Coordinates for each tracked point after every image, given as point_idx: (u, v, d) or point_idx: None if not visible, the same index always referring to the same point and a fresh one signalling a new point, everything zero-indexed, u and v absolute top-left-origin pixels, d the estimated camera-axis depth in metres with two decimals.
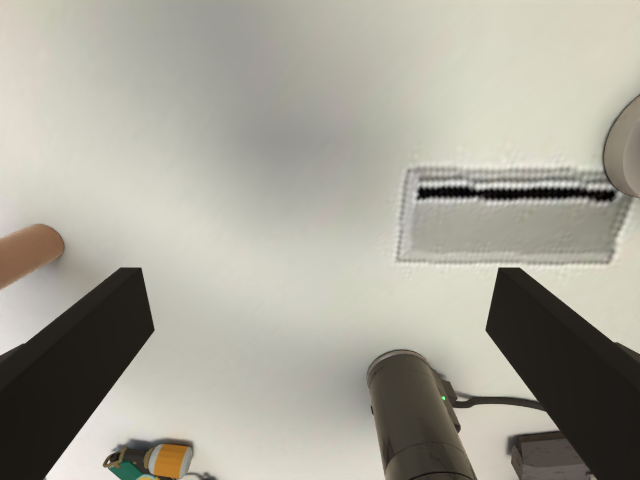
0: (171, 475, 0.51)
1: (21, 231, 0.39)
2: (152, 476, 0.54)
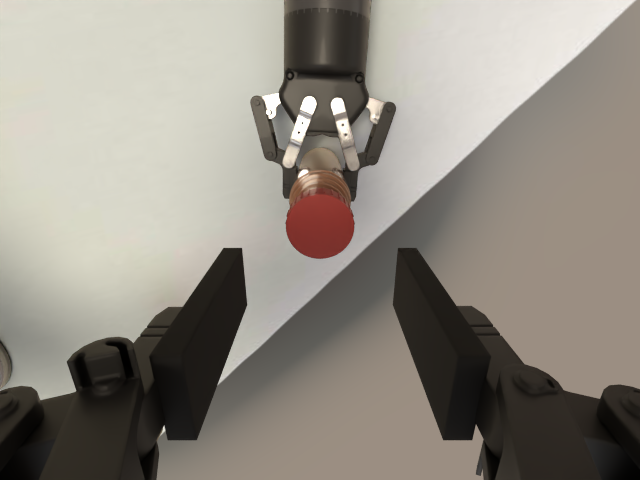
0: None
1: None
2: None
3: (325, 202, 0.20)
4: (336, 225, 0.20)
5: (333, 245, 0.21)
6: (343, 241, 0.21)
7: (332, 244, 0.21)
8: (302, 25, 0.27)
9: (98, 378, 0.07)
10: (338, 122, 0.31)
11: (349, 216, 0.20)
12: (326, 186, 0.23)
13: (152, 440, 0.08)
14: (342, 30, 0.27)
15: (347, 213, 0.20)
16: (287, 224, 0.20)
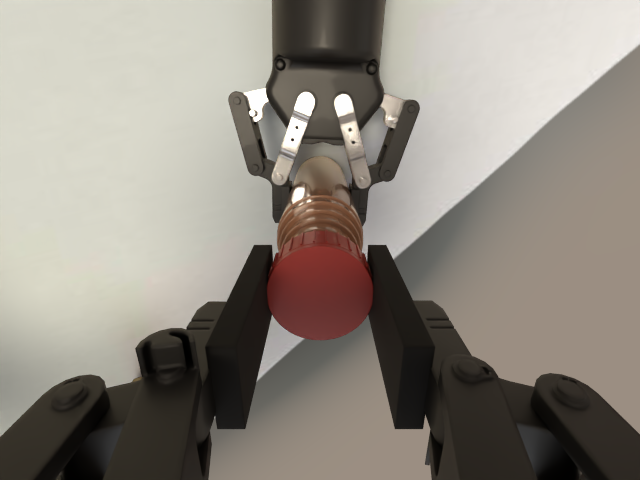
0: None
1: None
2: None
3: (328, 258, 0.12)
4: (346, 292, 0.13)
5: (340, 321, 0.13)
6: (356, 316, 0.13)
7: (339, 320, 0.13)
8: None
9: (162, 366, 0.07)
10: (344, 126, 0.24)
11: (366, 279, 0.13)
12: (329, 223, 0.16)
13: (208, 427, 0.08)
14: (351, 0, 0.20)
15: (363, 275, 0.13)
16: (268, 291, 0.13)
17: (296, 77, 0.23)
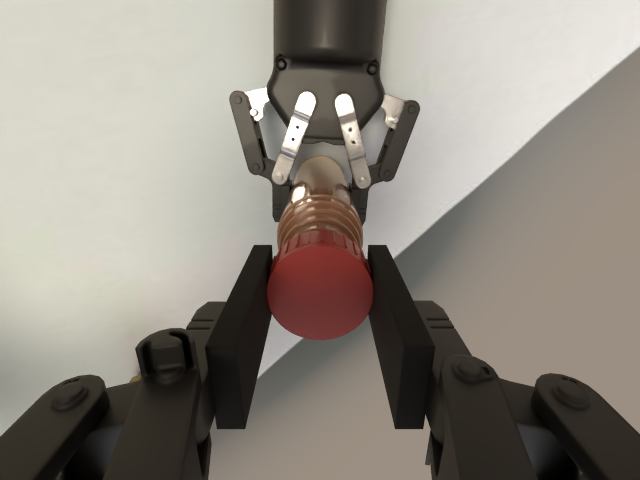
0: None
1: None
2: None
3: (279, 285, 0.13)
4: (318, 272, 0.13)
5: (352, 278, 0.13)
6: (347, 263, 0.12)
7: (350, 280, 0.13)
8: None
9: (162, 366, 0.07)
10: (344, 126, 0.24)
11: (304, 252, 0.12)
12: (329, 222, 0.16)
13: (207, 428, 0.08)
14: (352, 0, 0.20)
15: (299, 255, 0.12)
16: (310, 337, 0.14)
17: (297, 77, 0.23)
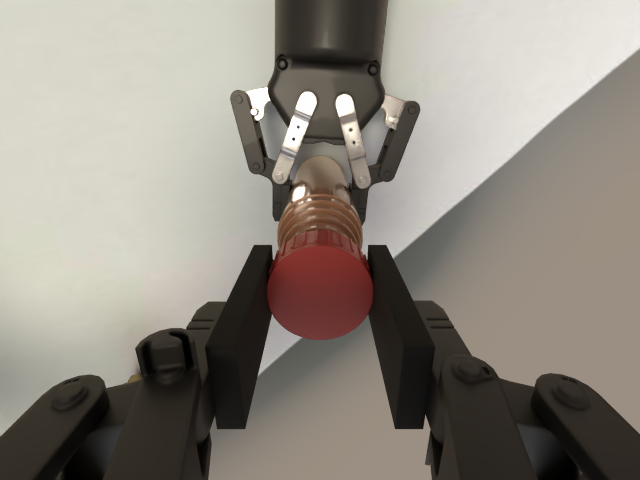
0: None
1: None
2: None
3: (305, 328, 0.13)
4: (294, 294, 0.13)
5: (303, 265, 0.12)
6: (285, 269, 0.13)
7: (304, 267, 0.12)
8: None
9: (162, 366, 0.07)
10: (345, 126, 0.24)
11: (272, 305, 0.13)
12: (329, 221, 0.16)
13: (207, 428, 0.08)
14: (353, 1, 0.20)
15: (275, 309, 0.13)
16: (369, 307, 0.13)
17: (298, 77, 0.23)
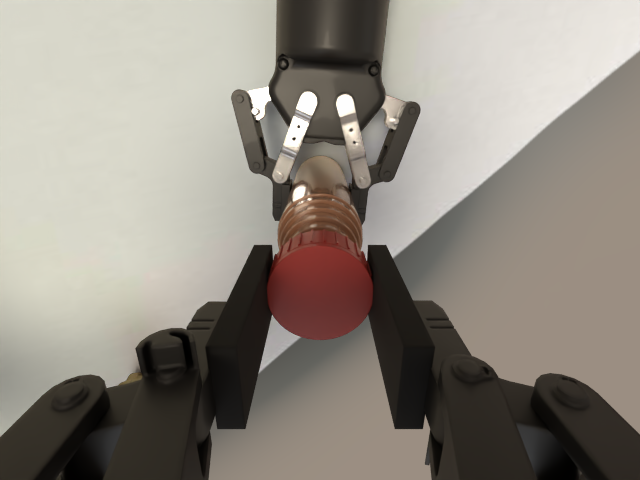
0: None
1: None
2: None
3: (357, 311, 0.13)
4: (317, 317, 0.13)
5: (285, 307, 0.13)
6: (289, 321, 0.13)
7: (288, 306, 0.13)
8: None
9: (162, 366, 0.07)
10: (345, 126, 0.24)
11: (326, 336, 0.14)
12: (330, 221, 0.16)
13: (208, 428, 0.08)
14: (355, 2, 0.20)
15: (331, 334, 0.14)
16: (339, 251, 0.12)
17: (299, 77, 0.23)
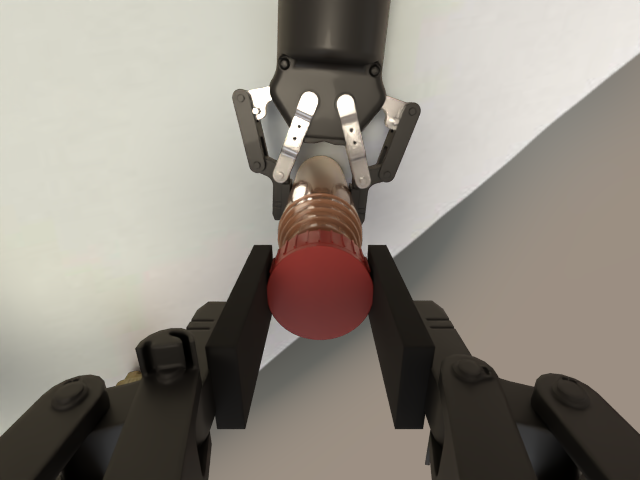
0: None
1: None
2: None
3: (342, 263, 0.12)
4: (345, 300, 0.13)
5: (330, 325, 0.13)
6: (346, 324, 0.13)
7: (329, 324, 0.13)
8: None
9: (162, 366, 0.07)
10: (346, 126, 0.24)
11: (369, 293, 0.13)
12: (330, 220, 0.16)
13: (208, 427, 0.08)
14: (356, 2, 0.20)
15: (368, 288, 0.13)
16: (272, 276, 0.13)
17: (300, 77, 0.24)
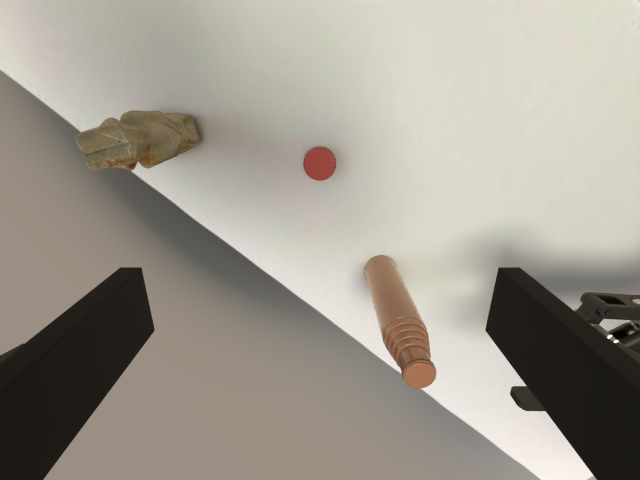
0: None
1: (371, 267, 0.48)
2: None
3: (309, 157, 0.43)
4: (322, 157, 0.43)
5: (330, 162, 0.44)
6: (330, 157, 0.43)
7: (329, 162, 0.44)
8: None
9: None
10: None
11: (320, 149, 0.43)
12: None
13: None
14: None
15: (318, 149, 0.43)
16: (312, 177, 0.44)
17: None
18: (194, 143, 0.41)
